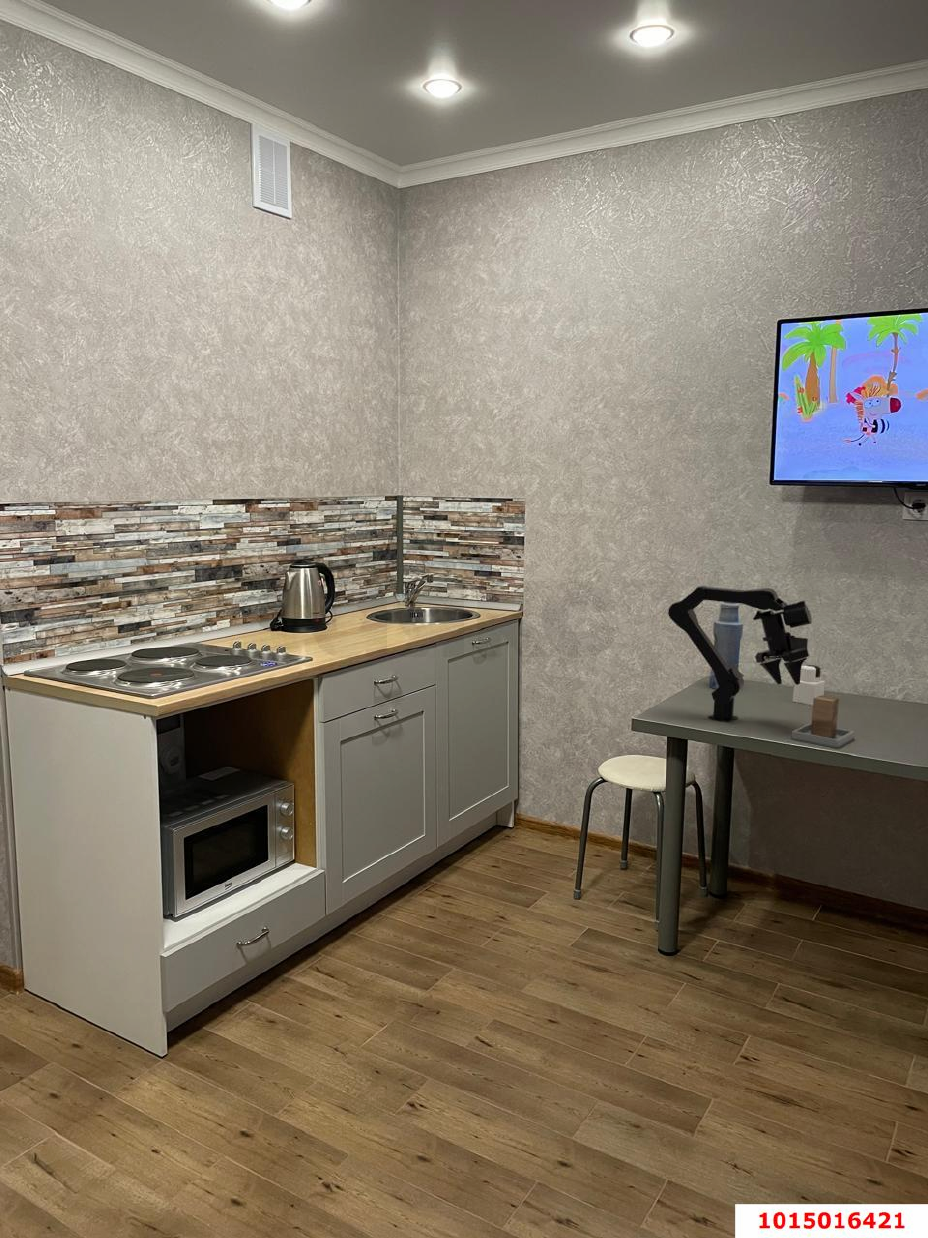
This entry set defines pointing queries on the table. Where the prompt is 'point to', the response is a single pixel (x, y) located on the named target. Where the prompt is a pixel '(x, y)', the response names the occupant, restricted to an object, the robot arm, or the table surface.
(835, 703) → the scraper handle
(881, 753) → the table surface
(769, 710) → the table surface
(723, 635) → the bottle
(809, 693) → the medicine bottle
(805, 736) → the tray
